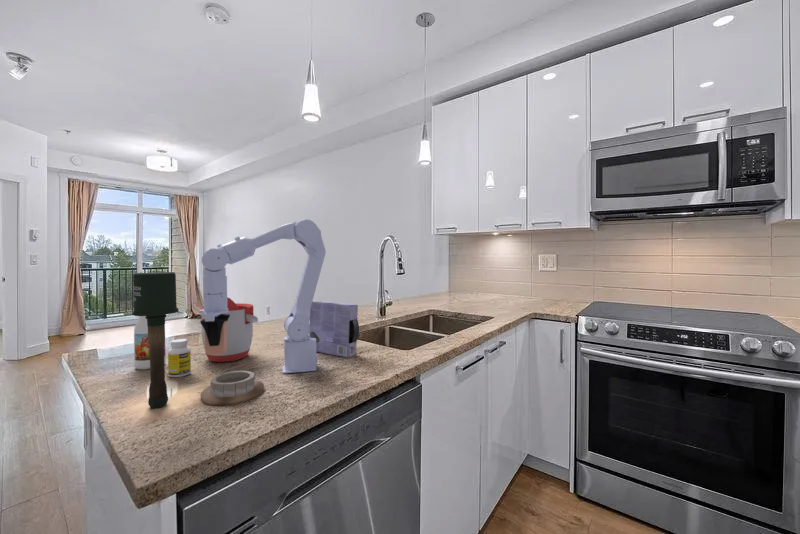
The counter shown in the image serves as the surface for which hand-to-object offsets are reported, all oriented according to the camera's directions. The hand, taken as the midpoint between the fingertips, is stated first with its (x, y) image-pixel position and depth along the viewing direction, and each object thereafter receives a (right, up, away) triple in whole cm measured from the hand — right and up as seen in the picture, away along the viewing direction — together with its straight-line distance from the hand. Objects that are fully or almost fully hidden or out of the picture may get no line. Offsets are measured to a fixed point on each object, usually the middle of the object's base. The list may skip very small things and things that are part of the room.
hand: (216, 343), depth 96 cm
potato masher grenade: (-5, -11, -17) cm, 20 cm away
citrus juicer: (-6, -9, +21) cm, 23 cm away
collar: (+9, -10, -9) cm, 17 cm away
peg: (0, -2, 0) cm, 2 cm away
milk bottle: (-26, -10, +12) cm, 30 cm away
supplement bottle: (-13, -10, +4) cm, 16 cm away
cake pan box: (+27, -9, +26) cm, 38 cm away
